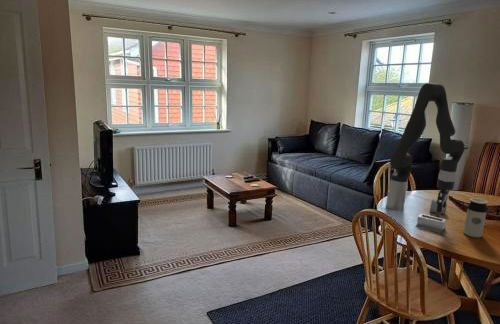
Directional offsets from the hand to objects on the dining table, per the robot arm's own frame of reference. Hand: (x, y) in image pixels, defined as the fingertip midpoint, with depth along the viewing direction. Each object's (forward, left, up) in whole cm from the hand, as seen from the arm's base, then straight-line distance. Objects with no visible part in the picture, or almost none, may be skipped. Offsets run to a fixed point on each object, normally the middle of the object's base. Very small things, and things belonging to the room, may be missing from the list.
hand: (440, 209), depth 185 cm
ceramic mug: (-6, +27, -11) cm, 30 cm away
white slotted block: (-3, 0, -10) cm, 11 cm away
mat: (-4, 0, -11) cm, 11 cm away
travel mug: (+15, +4, -11) cm, 19 cm away
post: (-3, +12, -11) cm, 16 cm away
